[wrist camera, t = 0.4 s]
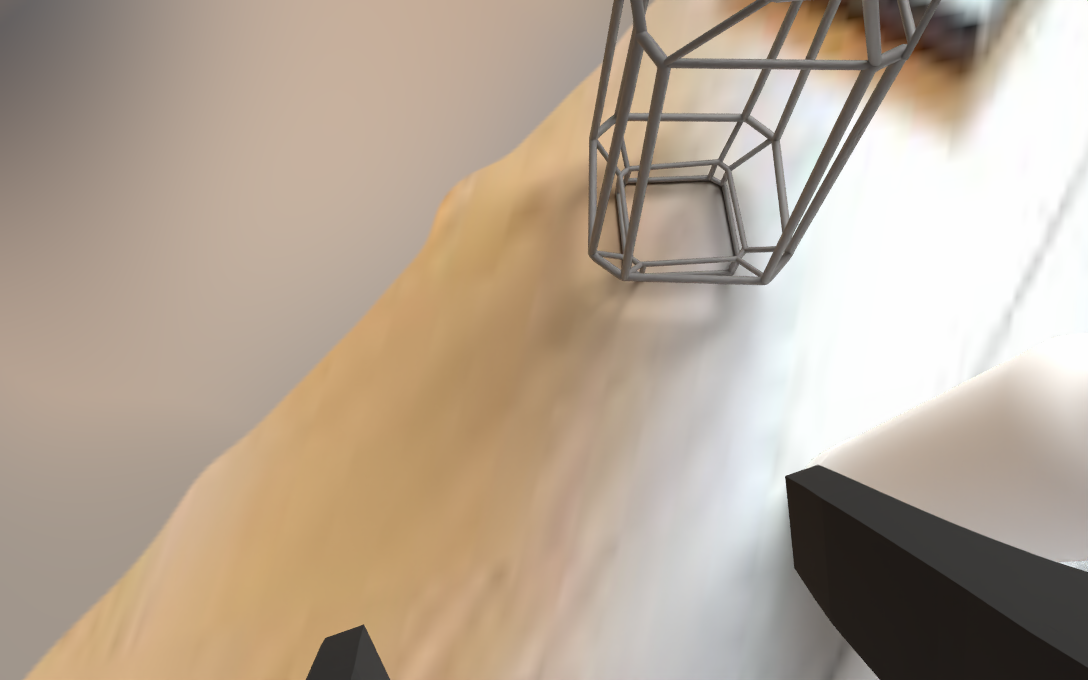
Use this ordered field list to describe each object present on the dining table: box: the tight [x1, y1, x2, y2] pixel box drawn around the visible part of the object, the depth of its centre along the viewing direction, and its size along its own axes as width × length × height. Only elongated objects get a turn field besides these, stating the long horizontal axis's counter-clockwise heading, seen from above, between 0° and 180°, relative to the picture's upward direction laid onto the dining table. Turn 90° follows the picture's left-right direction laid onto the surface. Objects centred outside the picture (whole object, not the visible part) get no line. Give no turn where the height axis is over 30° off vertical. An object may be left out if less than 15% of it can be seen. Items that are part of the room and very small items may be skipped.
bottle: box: [804, 333, 1088, 562], centre depth 27 cm, size 8×8×30 cm
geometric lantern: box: [588, 0, 941, 285], centre depth 32 cm, size 16×16×35 cm
